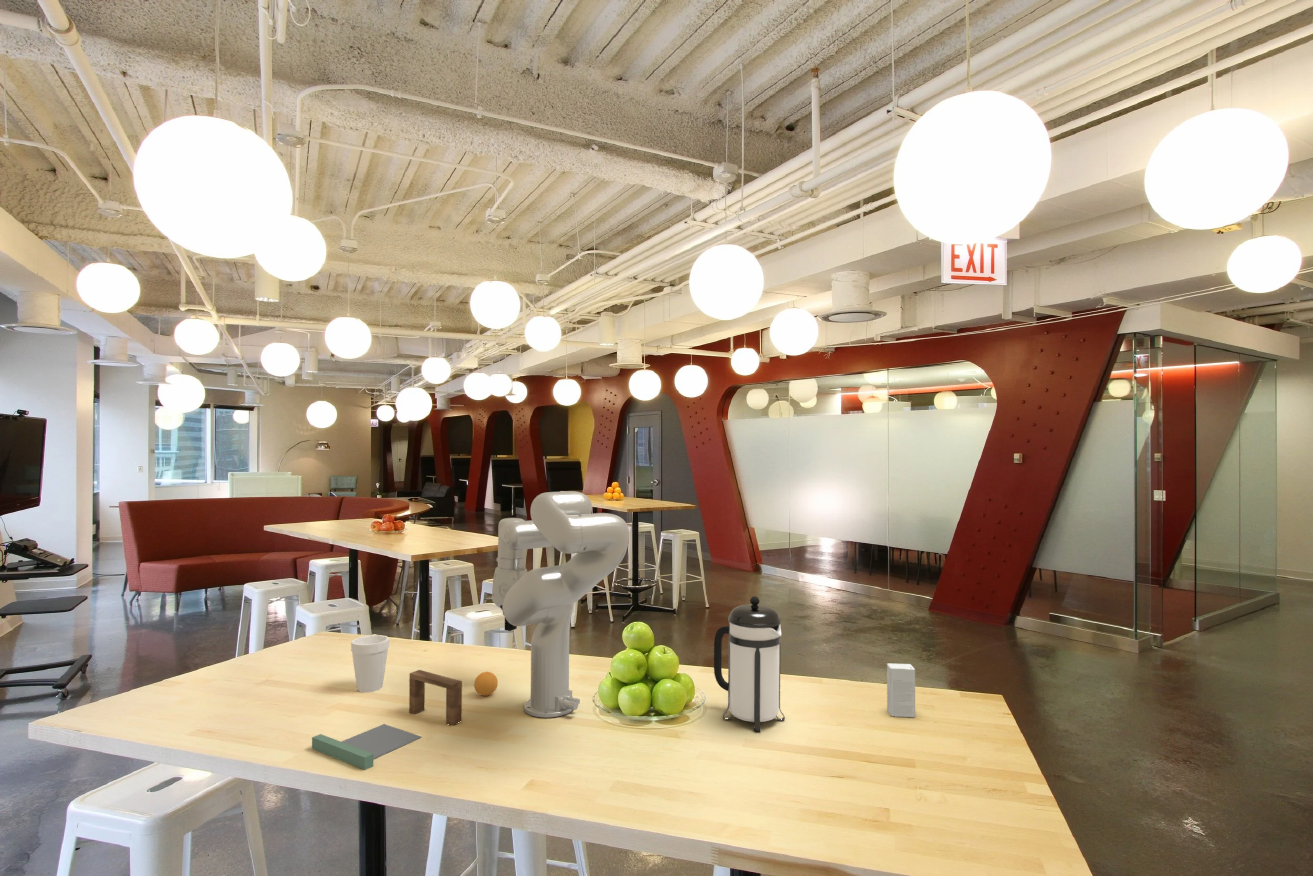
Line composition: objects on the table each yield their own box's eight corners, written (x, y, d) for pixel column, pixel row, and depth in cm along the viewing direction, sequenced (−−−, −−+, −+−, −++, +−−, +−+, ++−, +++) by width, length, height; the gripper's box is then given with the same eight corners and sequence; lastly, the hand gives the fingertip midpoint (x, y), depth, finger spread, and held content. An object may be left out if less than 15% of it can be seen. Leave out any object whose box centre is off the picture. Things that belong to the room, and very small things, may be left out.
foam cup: (362, 697, 180) (363, 647, 180) (344, 689, 186) (344, 640, 186) (395, 687, 188) (395, 639, 188) (376, 679, 194) (377, 633, 194)
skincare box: (910, 711, 174) (911, 663, 174) (915, 718, 170) (915, 669, 170) (886, 710, 175) (886, 662, 175) (890, 716, 171) (890, 668, 171)
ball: (502, 693, 184) (502, 671, 184) (485, 701, 179) (486, 677, 179) (485, 689, 187) (486, 667, 187) (469, 696, 182) (469, 673, 182)
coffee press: (781, 707, 176) (782, 589, 176) (787, 734, 160) (788, 604, 160) (713, 704, 178) (714, 587, 178) (712, 730, 162) (713, 602, 162)
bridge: (419, 708, 173) (419, 669, 173) (461, 721, 166) (462, 681, 166) (409, 712, 171) (409, 673, 171) (451, 726, 163) (452, 684, 163)
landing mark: (421, 737, 157) (421, 736, 157) (371, 760, 145) (371, 759, 145) (384, 724, 163) (384, 724, 163) (333, 745, 152) (333, 744, 152)
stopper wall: (373, 766, 143) (373, 754, 143) (364, 770, 141) (364, 757, 141) (320, 745, 152) (320, 734, 152) (311, 748, 150) (312, 737, 150)
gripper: (482, 562, 192) (481, 628, 192) (523, 568, 184) (521, 637, 184) (501, 558, 198) (500, 622, 198) (541, 564, 190) (540, 630, 190)
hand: (510, 629), depth 191 cm, fingers closed
